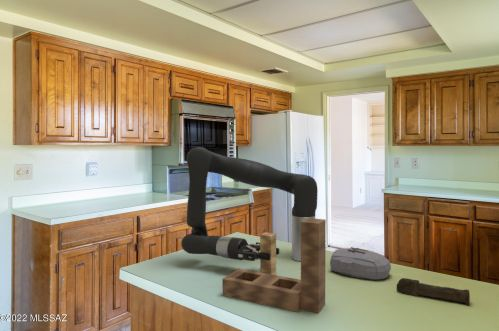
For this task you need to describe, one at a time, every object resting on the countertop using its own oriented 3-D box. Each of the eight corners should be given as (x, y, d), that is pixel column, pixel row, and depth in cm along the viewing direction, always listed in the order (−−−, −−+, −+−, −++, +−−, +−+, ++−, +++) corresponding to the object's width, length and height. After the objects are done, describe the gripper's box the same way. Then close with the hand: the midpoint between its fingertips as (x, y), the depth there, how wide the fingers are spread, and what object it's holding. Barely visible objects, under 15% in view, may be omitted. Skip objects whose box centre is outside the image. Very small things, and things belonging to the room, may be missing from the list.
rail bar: (260, 279, 120) (260, 234, 119) (265, 275, 124) (265, 232, 123) (271, 281, 118) (271, 236, 117) (276, 277, 122) (276, 233, 121)
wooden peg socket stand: (222, 295, 107) (221, 215, 106) (239, 283, 116) (238, 210, 115) (316, 316, 93) (316, 225, 92) (327, 301, 102) (327, 218, 101)
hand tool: (469, 301, 102) (469, 285, 102) (469, 307, 98) (470, 290, 98) (398, 289, 111) (398, 274, 111) (396, 293, 108) (396, 278, 108)
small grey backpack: (325, 273, 125) (384, 286, 114) (325, 250, 125) (385, 260, 113) (341, 262, 138) (396, 272, 126) (341, 240, 137) (396, 249, 126)
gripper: (220, 242, 121) (265, 248, 113) (241, 233, 133) (283, 238, 125) (220, 264, 121) (265, 271, 113) (242, 253, 134) (283, 259, 126)
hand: (274, 254), depth 119 cm, fingers open, 6 cm apart
